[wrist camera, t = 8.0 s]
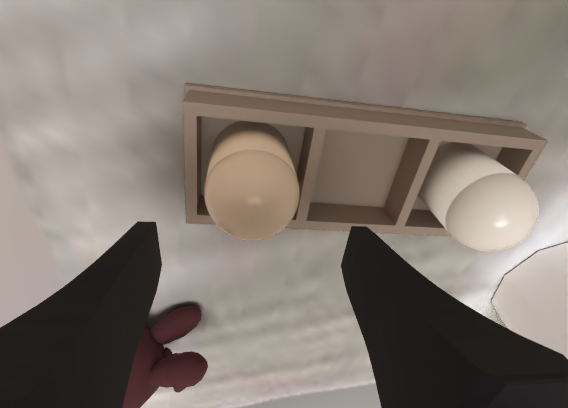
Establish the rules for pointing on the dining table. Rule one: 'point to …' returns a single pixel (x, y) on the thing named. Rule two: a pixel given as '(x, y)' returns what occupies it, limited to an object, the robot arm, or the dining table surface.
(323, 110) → the egg carton
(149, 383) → the brown plush toy
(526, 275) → the toilet paper
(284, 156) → the tan egg
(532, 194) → the cream egg
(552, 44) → the dining table surface
